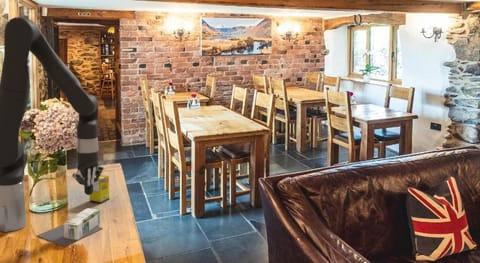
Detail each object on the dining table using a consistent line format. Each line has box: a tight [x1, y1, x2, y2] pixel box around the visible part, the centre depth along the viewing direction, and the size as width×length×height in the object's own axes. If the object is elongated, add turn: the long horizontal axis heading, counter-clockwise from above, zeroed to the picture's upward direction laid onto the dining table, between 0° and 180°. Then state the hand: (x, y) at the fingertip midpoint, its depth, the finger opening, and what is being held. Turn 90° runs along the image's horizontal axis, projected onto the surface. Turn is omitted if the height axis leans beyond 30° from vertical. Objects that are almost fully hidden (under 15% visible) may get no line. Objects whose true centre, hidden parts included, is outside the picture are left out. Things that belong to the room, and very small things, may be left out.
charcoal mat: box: [36, 224, 103, 248], centre depth 153 cm, size 17×14×1 cm
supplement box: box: [89, 174, 110, 204], centre depth 182 cm, size 6×6×11 cm
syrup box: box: [62, 207, 101, 241], centre depth 153 cm, size 6×6×14 cm
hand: (88, 194), depth 158 cm, fingers closed
